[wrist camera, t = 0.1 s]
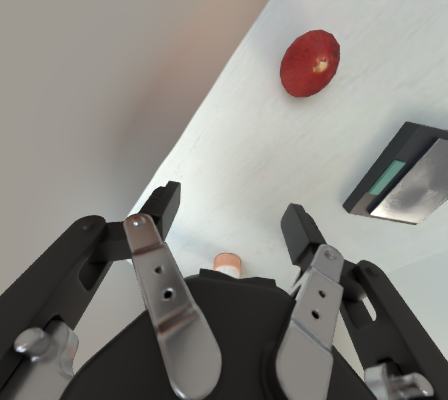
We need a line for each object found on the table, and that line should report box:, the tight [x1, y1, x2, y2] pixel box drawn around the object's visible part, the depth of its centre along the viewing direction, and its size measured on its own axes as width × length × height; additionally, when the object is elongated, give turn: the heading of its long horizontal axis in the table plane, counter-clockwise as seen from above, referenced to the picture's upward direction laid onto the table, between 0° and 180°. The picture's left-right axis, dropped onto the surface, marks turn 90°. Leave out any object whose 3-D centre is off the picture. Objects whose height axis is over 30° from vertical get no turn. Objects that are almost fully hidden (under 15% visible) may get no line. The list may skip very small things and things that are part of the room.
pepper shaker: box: [213, 253, 241, 279], centre depth 39 cm, size 7×7×19 cm
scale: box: [343, 122, 448, 225], centre depth 28 cm, size 16×14×3 cm
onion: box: [280, 30, 340, 97], centre depth 18 cm, size 6×6×8 cm
